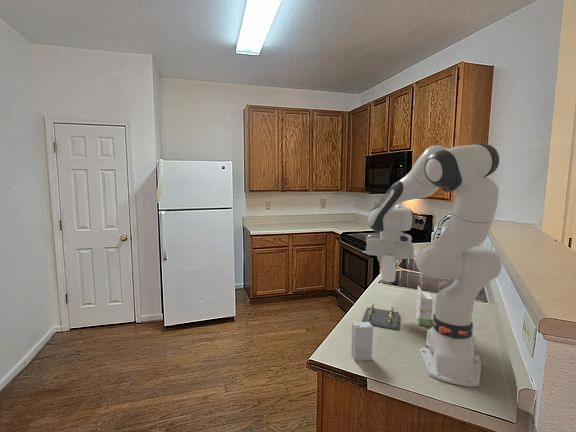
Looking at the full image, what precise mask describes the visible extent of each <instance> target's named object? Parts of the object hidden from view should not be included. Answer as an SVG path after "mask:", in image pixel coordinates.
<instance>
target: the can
mask: <svg viewBox="0 0 576 432" xmlns="http://www.w3.org/2000/svg"><path fill="white" fill-rule="evenodd" d="M380 260H381V266H380V271H379V273H380V274H379V279H380V281H382V282H385V283H394V282H395V281H396V276H397V275H396V273H397V268H396V263H397V262H398V258H395V257H394V255H386V254H384V256H381V258H380Z"/></svg>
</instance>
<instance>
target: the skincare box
mask: <svg viewBox="0 0 576 432" xmlns="http://www.w3.org/2000/svg"><path fill="white" fill-rule="evenodd" d="M351 324H352V325H351V356H352V358H353V360H354V362H361V361H362V362H363V361H364V362H365V361H372V360H373V338H374V337H373V335H374V326H373V325H371V324H370V323H369V322H362V321H355V322H354V321H353V322H352V323H351Z"/></svg>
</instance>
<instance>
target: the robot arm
mask: <svg viewBox="0 0 576 432" xmlns="http://www.w3.org/2000/svg"><path fill="white" fill-rule="evenodd" d="M499 164H500V156H499V152H498V151H497V149H496V148H495V147H494V146H493V145H490V144H487V143H474V144H469V145H468V144H466V145H457V146H452V147H449V148H447V147H446V146H443V145H435V144H434V145H431V146H429V147H427V148H426V149H424V152H422V153H421V155H420V156H419V157H418V158H417V160H416V162H414V165H413V166H412V168H411V169H410V171H409V172H408V173H407V174H406V175H405V176H404V177H402V178H401V179H399V180H397V181H396V182H394V183H393V184H392V185H391V186H390V188H388V190H387V191H386V193H384V195H383V196H382V198H381V199H380V200H379V202H378V203H377V204H376V205H375V206H374V207H373V208H372V209H370V211H369V213H368V215H367V225H368V226H369V228H370V229H371V230H372V231H373V232H375V233H379V234H371V233H369V235H367V236H366V237H365V243H366V247H365V254H366V255H368V256H376V259H377V261H378V262H379V265H378V266H379V267H381V257H382V256H384V254H386V255H394V257H395V258H397V261H396V269H398V268H399V264H400V262H401V261H402V259H406V260H412V259H414V257H415V250H414V249H415V248H414V243H413V242H412V240H413V238H412V235H410V234H407V233H405V232H406V231H410V230H411V229H412V228H413V227H414V226H415V224H416V214H415V212H414V211H413V210H412V209H411V208H408V207H406V206H405V205H404V204H403V202H406V201H411V200H419V199H425V198H428V197H430V196H432V195H433V194H435V193H436V192H437V191H439V189H442V191H444V192H445V193H451V192H454V195H455V196H454V197H455V198H454V202H453V206H452V209H451V214H450V216H449V220H448V223H447V225H446V227H445V229H444V231H443V232H442V233H441V235H440V236H439V237H438V238H436V239H435V240H434V241H432V242H431V243H429V244H427V245H426V246H425V245H424V246H422V247H421V248H420V249H419V251H418V252H417V253H416V257H415V264H416V267H417V269H418V272H419V273H421V275H423V276H426V277H429V278H432V279H433V278H434V279H438V280H439V279H440V280H441V279H443V280H454V281H453V282H452V283H451V284H450V285H449V286H446V287H444V288H442V289H440V290H439V291H438V292H437V294H436V296H435V309H434V310H435V311H434V314H433V316H432V317H433V318H432V326H431V328H430V329H428V330H427V333H426V343H425V347H421V348H420V349H419V354H420V356H421V359H422V361H423V363H424V365H425V369H426V371H427V374H428V376H430V377H432V378H434V379H436V380H439V381H441V382H444V383H448V384H454V385H456V386H463V387H468V388H469V387H470V388H473V387H474V388H475V387H479V386H480V383H481V375H482V373H481V372H482V361H481V360H480V359H481V355H479V354H475V353H476V352H478V350H479V347H478V346H477V345H476V341H477V339H476V337H475V336H474V335H473V333H474V332H473V331H474V322H473V321H472V320H473V310H474V305H475V301H476V298H477V296H478V294H479V293H480V291H481V290H482V289H483V288H484V287H485V286H486V285H487V284H488V283H489V282H491V281H493V280H496V279H497V278H498V276H499V275H500V274H501V271H502V269H503V268H502V267H503V265H502V259H501V258H500V256H499V254H498V253H497V252H496V251H495V250H493V249H489V248H485V247H484V248H483V247H480V245H481V244H483V242H485V241H486V239H487V238H488V235H489V232H490V229H491V226H492V223H493V220H494V218H495V215H496V213H497V212H496V211H497V207H498V202H499V193H500V191H499V186H498V185H497V184H496V182H495V181H493V180H491V178H488V176H491V175H492V174H493V173H494V172H496V171H497V169H498V167H499Z"/></svg>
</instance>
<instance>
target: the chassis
mask: <svg viewBox="0 0 576 432" xmlns="http://www.w3.org/2000/svg"><path fill="white" fill-rule="evenodd" d="M394 309H395V307H394V306H391V307H390V310H387V309H380V308H375V304H374V303H371V307H370V306H369V307H366V309H365V312H364V314H363V316H362V319H361V322H369V323H370V324H371V325H372V326H373V327H374V326H375V327H380V328H386V329H391V330H394V331H395V330H398V324H399V323H398V322H399V317H400V312H399V311H395V310H394Z"/></svg>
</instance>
